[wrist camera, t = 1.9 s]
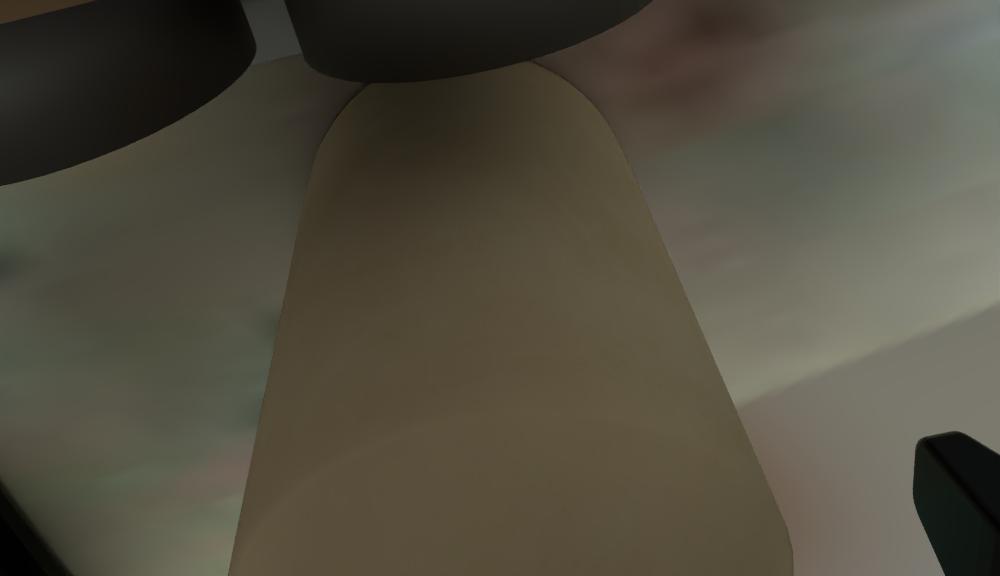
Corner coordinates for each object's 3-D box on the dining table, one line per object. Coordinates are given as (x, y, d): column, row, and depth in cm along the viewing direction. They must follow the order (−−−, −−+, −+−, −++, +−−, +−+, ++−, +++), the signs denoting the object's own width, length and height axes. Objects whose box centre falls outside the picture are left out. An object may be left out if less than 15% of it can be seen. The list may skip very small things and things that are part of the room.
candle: (239, 182, 15) (41, 775, 7) (498, -28, 14) (625, 426, 6) (447, 372, 18) (477, 965, 10) (684, 216, 16) (957, 767, 8)
